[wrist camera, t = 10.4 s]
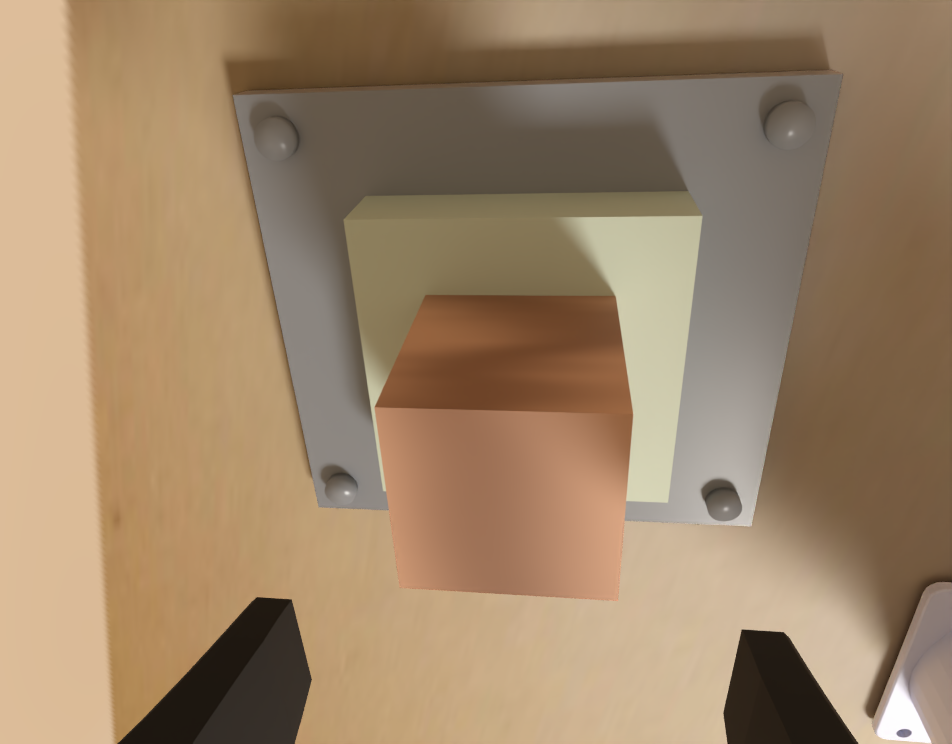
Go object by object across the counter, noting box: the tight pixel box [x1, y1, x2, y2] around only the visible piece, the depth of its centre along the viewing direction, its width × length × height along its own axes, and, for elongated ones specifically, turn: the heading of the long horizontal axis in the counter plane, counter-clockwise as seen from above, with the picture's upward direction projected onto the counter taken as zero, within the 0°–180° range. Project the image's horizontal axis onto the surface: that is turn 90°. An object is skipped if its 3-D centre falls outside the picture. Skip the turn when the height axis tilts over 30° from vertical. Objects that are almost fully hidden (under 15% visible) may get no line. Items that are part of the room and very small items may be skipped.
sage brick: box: [344, 191, 703, 503], centre depth 18 cm, size 8×8×2 cm
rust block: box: [374, 295, 633, 601], centre depth 15 cm, size 4×4×5 cm
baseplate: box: [233, 70, 843, 526], centre depth 19 cm, size 14×13×1 cm
